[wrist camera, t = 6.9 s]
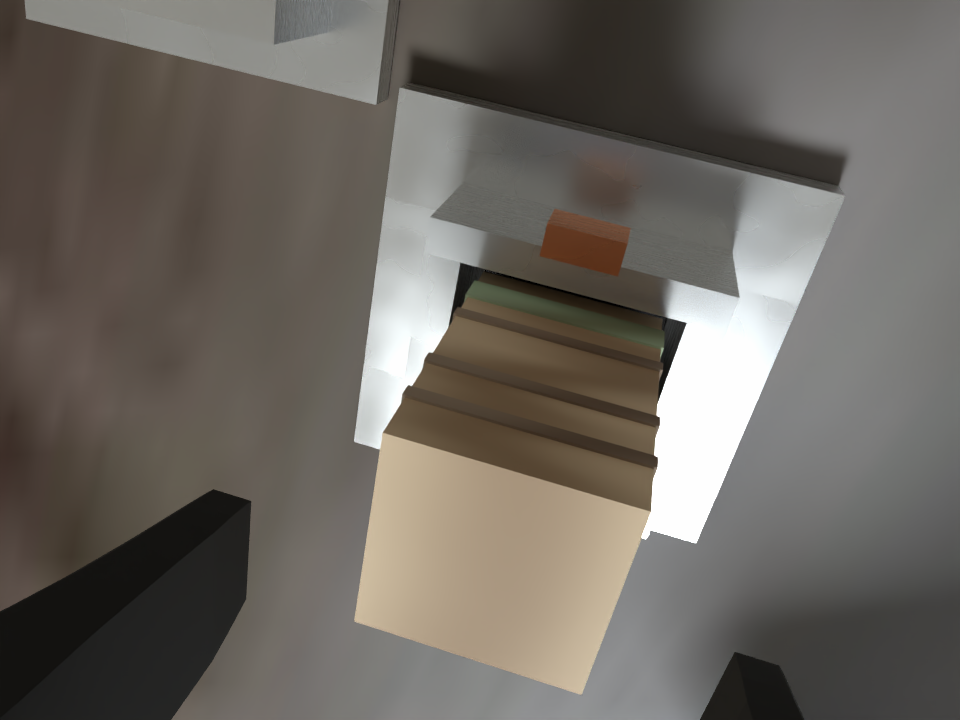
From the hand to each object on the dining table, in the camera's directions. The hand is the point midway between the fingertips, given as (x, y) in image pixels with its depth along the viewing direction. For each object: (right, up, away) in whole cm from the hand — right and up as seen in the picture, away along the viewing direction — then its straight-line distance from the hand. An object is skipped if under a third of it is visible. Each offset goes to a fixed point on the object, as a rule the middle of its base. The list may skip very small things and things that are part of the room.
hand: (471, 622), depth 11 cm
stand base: (+2, +5, +9) cm, 10 cm away
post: (+2, +4, +7) cm, 8 cm away
